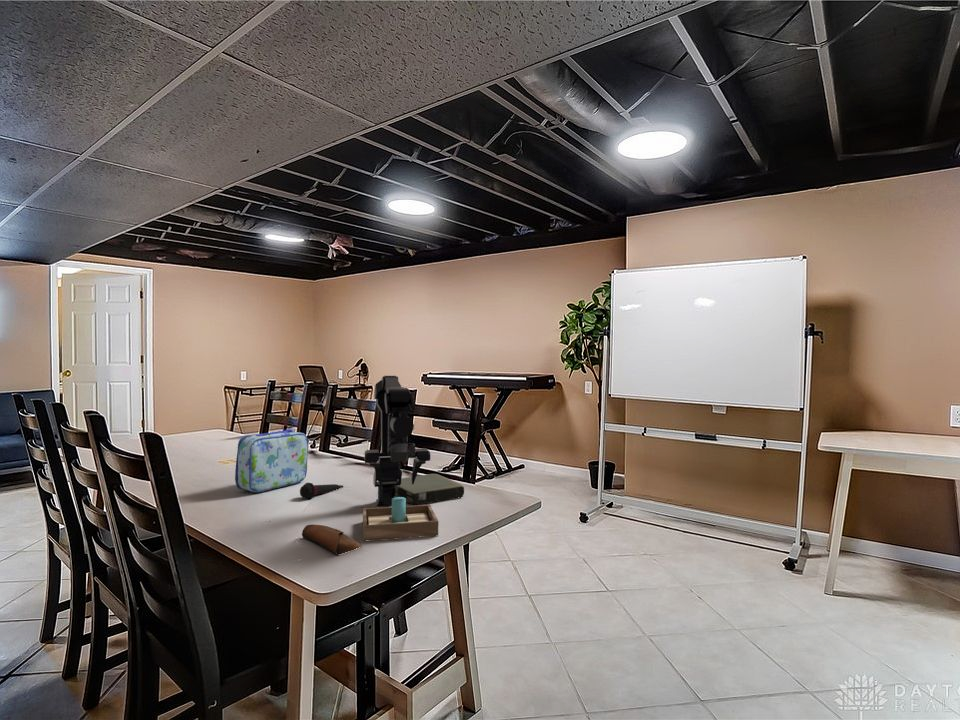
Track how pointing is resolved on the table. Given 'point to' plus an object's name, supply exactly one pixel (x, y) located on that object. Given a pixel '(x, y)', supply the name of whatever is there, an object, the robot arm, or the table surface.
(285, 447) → the lunch box
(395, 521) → the peg
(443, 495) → the network switch
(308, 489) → the microphone
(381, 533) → the open box
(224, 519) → the table surface
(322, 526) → the sunglasses case
